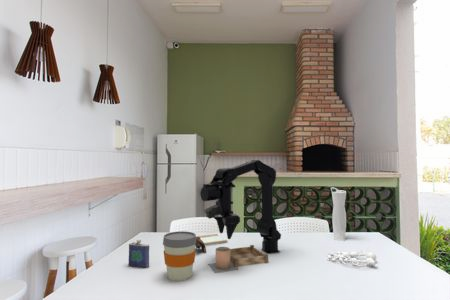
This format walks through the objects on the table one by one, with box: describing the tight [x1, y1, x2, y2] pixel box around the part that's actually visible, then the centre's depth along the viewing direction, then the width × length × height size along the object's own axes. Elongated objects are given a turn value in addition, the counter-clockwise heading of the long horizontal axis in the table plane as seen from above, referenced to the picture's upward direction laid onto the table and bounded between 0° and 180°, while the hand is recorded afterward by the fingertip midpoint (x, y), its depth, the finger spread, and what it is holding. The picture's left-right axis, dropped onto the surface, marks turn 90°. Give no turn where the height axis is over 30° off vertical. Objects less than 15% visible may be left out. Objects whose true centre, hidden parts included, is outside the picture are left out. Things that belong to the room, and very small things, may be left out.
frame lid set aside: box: [196, 233, 228, 247], centre depth 154 cm, size 14×14×1 cm
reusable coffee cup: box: [162, 230, 197, 282], centre depth 109 cm, size 13×13×15 cm
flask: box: [128, 239, 150, 269], centre depth 118 cm, size 9×3×11 cm, turn 74°
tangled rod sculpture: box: [326, 250, 377, 267], centre depth 123 cm, size 19×14×4 cm
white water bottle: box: [330, 187, 347, 242], centre depth 158 cm, size 8×8×28 cm
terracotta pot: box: [214, 246, 231, 270], centre depth 117 cm, size 6×6×7 cm
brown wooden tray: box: [230, 244, 269, 268], centre depth 126 cm, size 15×15×4 cm
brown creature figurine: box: [195, 237, 207, 254], centre depth 136 cm, size 12×10×8 cm
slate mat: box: [207, 262, 240, 274], centre depth 117 cm, size 10×10×1 cm
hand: (225, 236), depth 121 cm, fingers open, 9 cm apart
